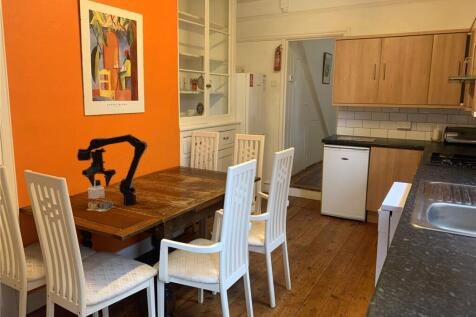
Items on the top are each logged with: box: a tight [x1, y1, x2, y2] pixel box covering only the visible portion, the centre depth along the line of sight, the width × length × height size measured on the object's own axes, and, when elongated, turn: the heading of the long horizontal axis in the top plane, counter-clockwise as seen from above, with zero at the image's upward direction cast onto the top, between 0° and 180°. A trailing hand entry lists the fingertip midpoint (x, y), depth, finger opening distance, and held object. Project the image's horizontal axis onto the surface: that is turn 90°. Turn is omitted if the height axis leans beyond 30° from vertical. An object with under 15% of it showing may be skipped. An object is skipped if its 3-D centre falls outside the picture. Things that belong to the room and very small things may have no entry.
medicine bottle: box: [87, 179, 106, 200], centre depth 229 cm, size 7×7×12 cm
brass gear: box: [87, 200, 101, 211], centre depth 206 cm, size 6×6×3 cm
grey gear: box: [100, 200, 114, 210], centre depth 206 cm, size 6×6×3 cm
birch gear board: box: [86, 200, 116, 212], centre depth 205 cm, size 12×10×5 cm
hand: (100, 186), depth 211 cm, fingers open, 9 cm apart
